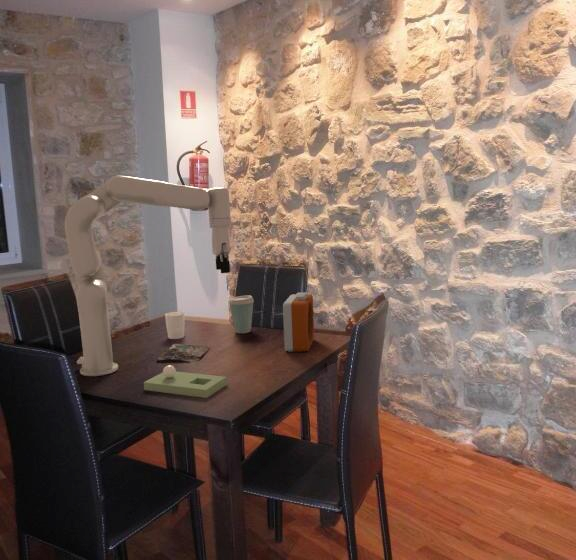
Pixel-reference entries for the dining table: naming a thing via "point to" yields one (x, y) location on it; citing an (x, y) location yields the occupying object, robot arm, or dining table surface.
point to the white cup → (175, 324)
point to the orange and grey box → (298, 322)
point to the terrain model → (183, 353)
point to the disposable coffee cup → (242, 313)
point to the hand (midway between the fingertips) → (223, 271)
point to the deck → (186, 384)
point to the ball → (169, 371)
